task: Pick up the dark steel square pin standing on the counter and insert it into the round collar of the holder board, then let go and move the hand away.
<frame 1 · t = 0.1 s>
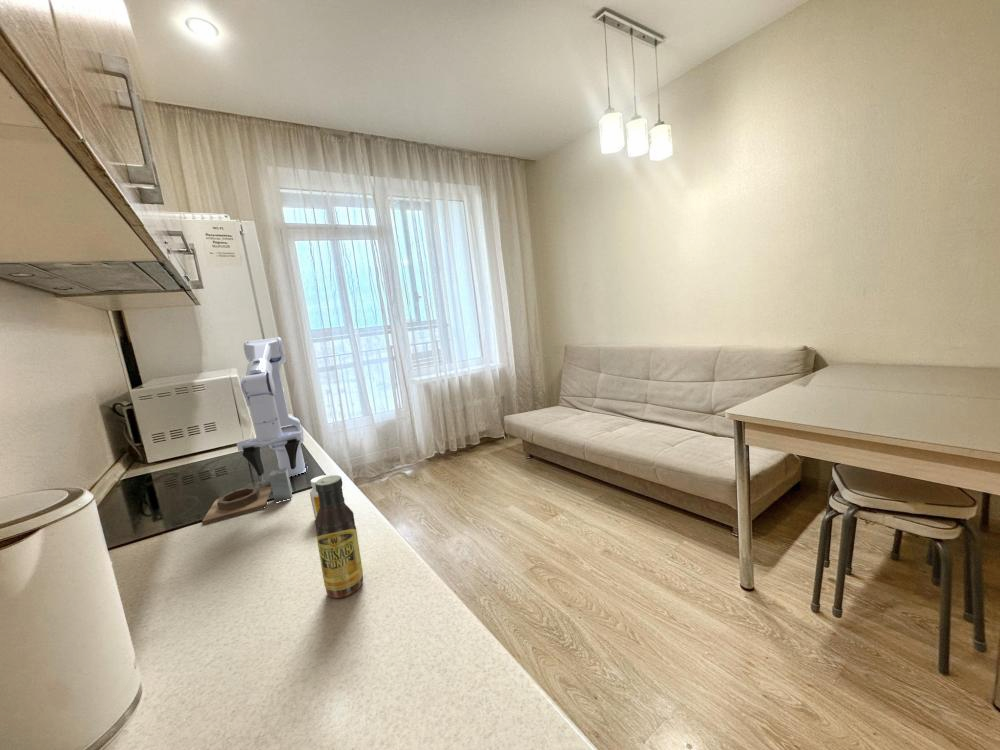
hand: (277, 471, 101), 10 cm above the counter, tool pointing down, fingers open, 7 cm apart
holder board: (240, 505, 107), on the counter
supplement bottle: (327, 516, 95), on the counter
sauce bottle: (347, 588, 68), on the counter
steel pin: (284, 498, 108), on the counter
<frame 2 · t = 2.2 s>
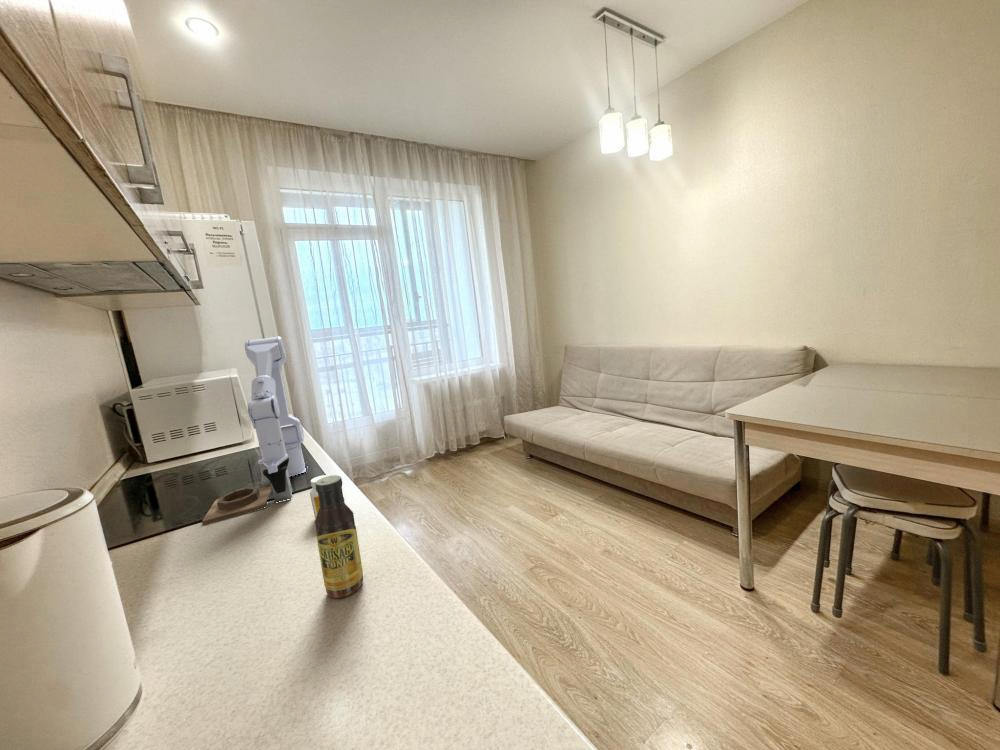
hand: (282, 488, 107), 3 cm above the counter, tool pointing down, fingers closed on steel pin, 4 cm apart
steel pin: (284, 498, 108), on the counter, touching gripper
everything else where it was.
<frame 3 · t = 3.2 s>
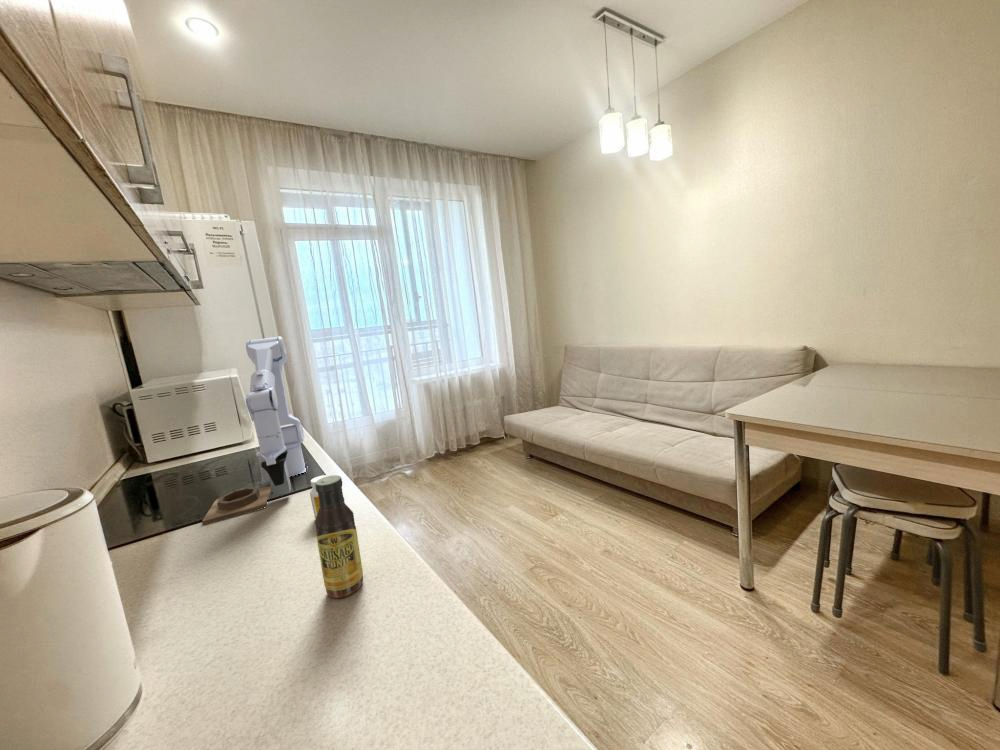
hand: (280, 481, 107), 5 cm above the counter, tool pointing down, fingers closed on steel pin, 4 cm apart
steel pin: (282, 491, 107), point 2 cm above the counter, touching gripper
everything else where it was.
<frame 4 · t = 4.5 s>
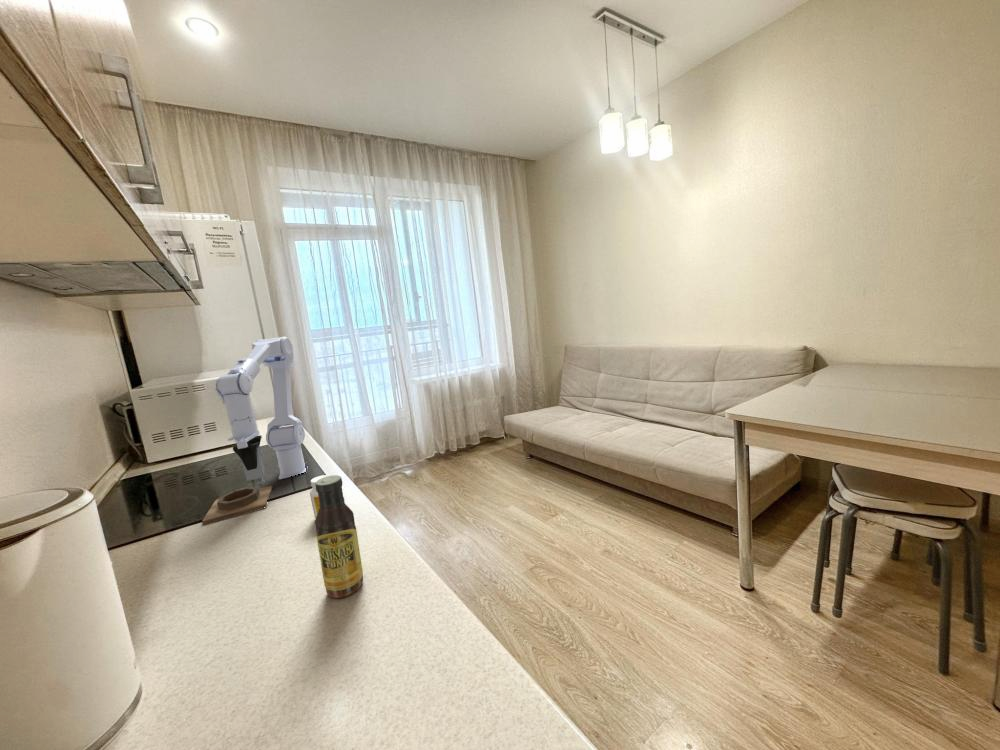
hand: (253, 466, 106), 10 cm above the counter, tool pointing down, fingers closed on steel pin, 4 cm apart
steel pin: (256, 476, 106), point 7 cm above the counter, touching gripper
everything else where it was.
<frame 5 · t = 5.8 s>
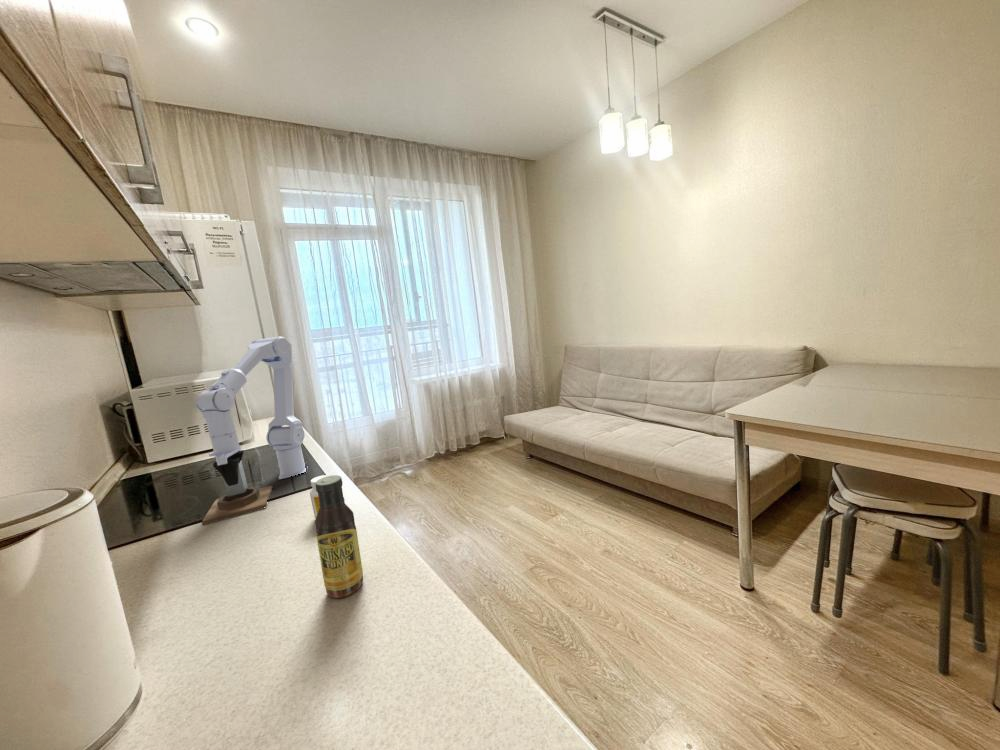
hand: (234, 481, 106), 7 cm above the counter, tool pointing down, fingers closed on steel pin, 4 cm apart
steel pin: (238, 491, 106), point 4 cm above the counter, touching gripper
everything else where it was.
when the fingers open (5 cm above the counter, at t = 6.7 s): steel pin stays where it is, resting on holder board.
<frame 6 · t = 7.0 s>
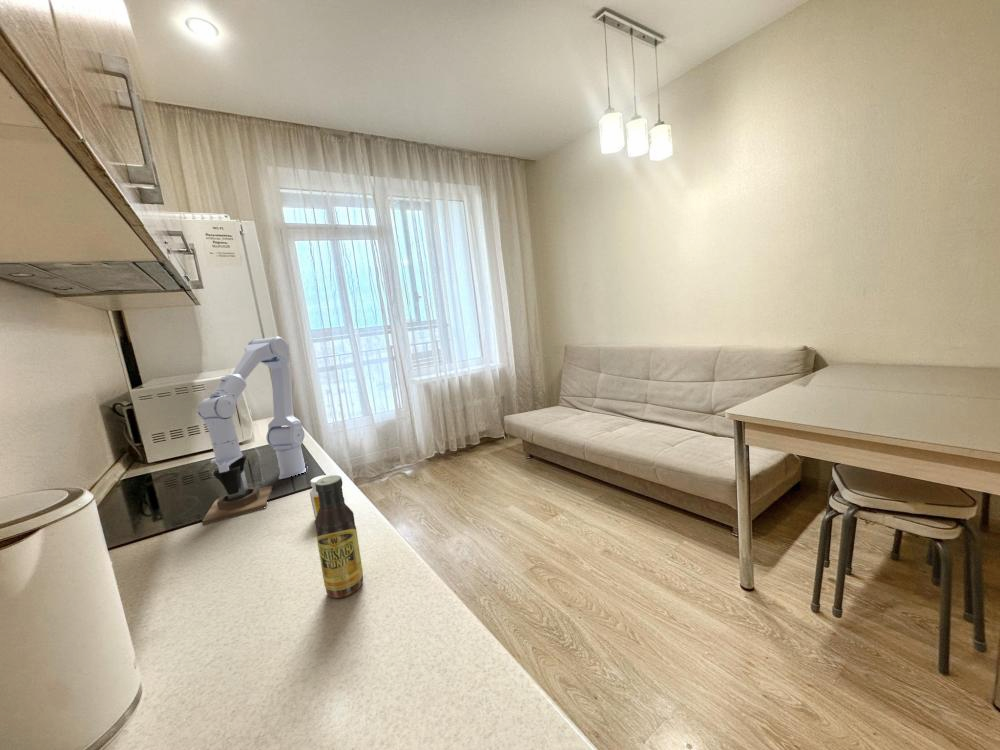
hand: (236, 488, 106), 5 cm above the counter, tool pointing down, fingers open, 7 cm apart
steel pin: (240, 501, 107), point 1 cm above the counter, touching holder board
everything else where it was.
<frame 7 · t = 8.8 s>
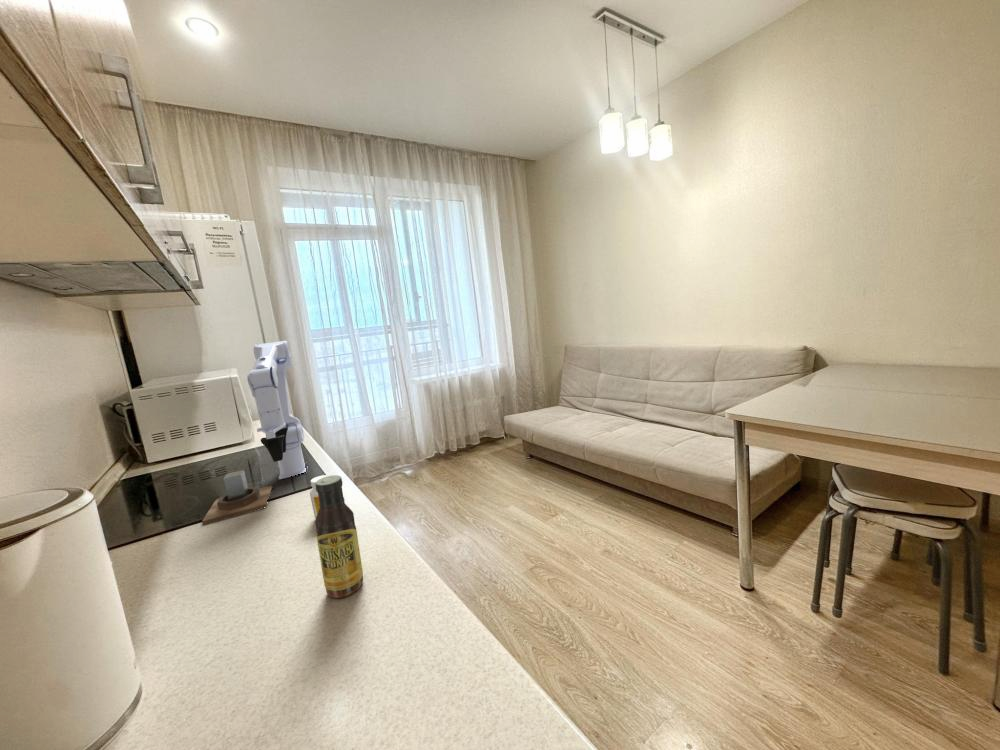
hand: (280, 456, 111), 10 cm above the counter, tool pointing down, fingers open, 7 cm apart
nothing on the counter moved.
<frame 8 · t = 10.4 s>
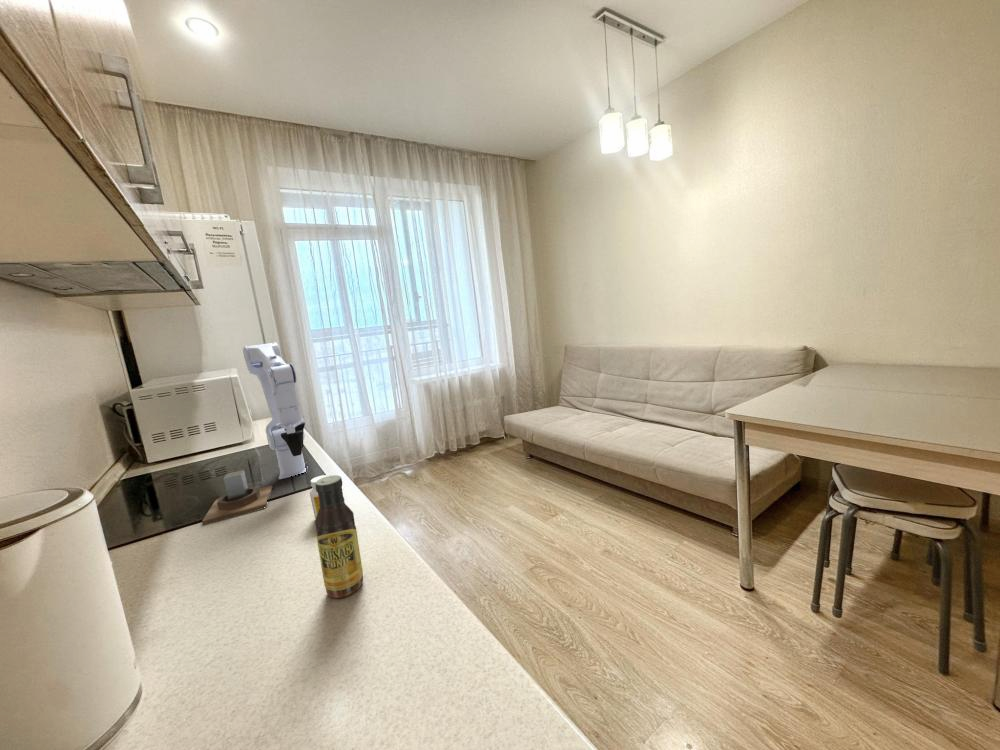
hand: (298, 451, 114), 10 cm above the counter, tool pointing down, fingers open, 7 cm apart
nothing on the counter moved.
at the end: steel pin 0.1 cm off-centre on the holder board, point 1.0 cm above the holder board's base; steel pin tilted 0°; the gripper is holding nothing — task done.
